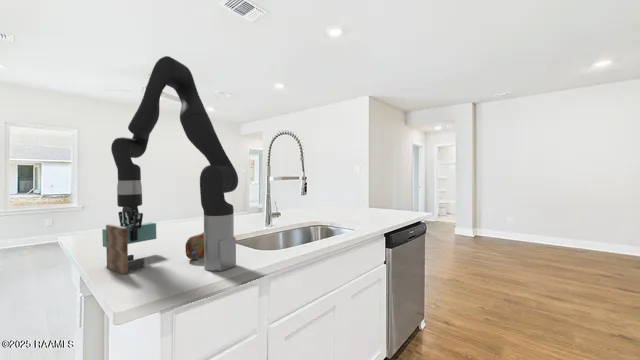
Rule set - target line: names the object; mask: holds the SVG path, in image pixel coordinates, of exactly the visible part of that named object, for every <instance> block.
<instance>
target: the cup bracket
mask: <svg viewBox="0 0 640 360" xmlns="http://www.w3.org/2000/svg"><path fill="white" fill-rule="evenodd" d="M105 229H106V247H105V249H106V268H107V269H109V270H111V271H114V272H116V273H119V274H121V275H123V276H124V275H128V274H129V272H132V271H137V270H140V269H145V258H144V257H140V258H137V259H134V258H135V257H134V256H135V255H134V254H129V250H128V247H129V244H128V242H127V228H125V227H121V226H120V225H116V224H115V225H114V224H110V223H109V224H106V225H105ZM128 254H129V255H128Z"/></svg>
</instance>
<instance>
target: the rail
mask: <svg viewBox="0 0 640 360" xmlns="http://www.w3.org/2000/svg"><path fill="white" fill-rule="evenodd" d="M120 227H125V228H127V242H128V245H130V244H135V243H142V242H147V241H150V240H156V239H157V223H156V222H151V221H150V222H142V225H141V228H140V229H138V240H137V241H130V227H129V225H128V226H120ZM101 233H102V248H103V247H104V248H106V228H102V232H101Z"/></svg>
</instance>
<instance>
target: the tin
mask: <svg viewBox="0 0 640 360" xmlns="http://www.w3.org/2000/svg"><path fill="white" fill-rule="evenodd" d="M185 256H186V257H187V258H188V259H189V260H196V261H198V260H200V259H202V258H204V232H201V233H198V234H196V235H193V236H190V237H188V239H187V241H186V242H185Z"/></svg>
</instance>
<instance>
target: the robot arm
mask: <svg viewBox="0 0 640 360" xmlns="http://www.w3.org/2000/svg"><path fill="white" fill-rule="evenodd" d="M147 81H148V82H147V85H146V87H145V89H144V90H145V91H144V93H143V96H142V99H141V102H140V104H139V106H138V108H137V110H136V112H135V113H134V115H133V117H132V118H131V120H130V122H129V124H128V126H127V129H128V131H129V132H130V133H131V134H132V137H131V138H130V137H125V136H119V137H116V138H114V140H113V141H112V142H111V148H110V149H111V150H110V151H111V155H112V157H113V161H114V163H115V166H116V169H117V185H116V195H117V196H116V198H117V199H116V200H117V201H116V202H117V207H119V208H122V209H121V211H118V214H117V215H118V219H119V224H120V225H119V226H120V227H121V226H128V225H129V227H130V241H137V240H138V229H140V228H141V225H142V224H143V217H144V213H143V212H139V207H141V206H142V205H143V188H142V187H143V186H142V179H141V178H142V175H141V174H142V173H141V166H140V165H138V164H136V163H134V162H133V158H134V159H138V158H140V157H141V156H143V155H144V154H145V153H146V151H147V148H148V143H149V139H150V134H151V133H152V132H153V130H154V128H155V127H156V125H157V123H158V121H159V116H160V100H161V96H162V93H163V90H164V89H165V88H166V87H167V86H168V87H169V88H173V90H174V91H175V93H176V94H177V96H178V98H179V101H180V103H181V107H180V111H179V122H180V125H181V127H182V129H183V131H184V134H185V136H186V138H187V139H188V140H189V142H190V143H191V144H192V145H193V146H194V147H195V149H197V150H198V151H199V152H200V153H201V154H202V155H203V157H205V158H206V160H207V161H208V163H209V165H206V166H204V167H203V169H202V170H201V172H200V176H199V195H200V204H201V208H202V210H203V233H204V257H203V258H204V259H203V260H204V261H203V262H204V263H203V264H204V270H207V271H212V272H213V271H214V272H215V271H218V272H222V271H225V270H228V269H231V268H234V267H236V266H237V246H236V245H237V238H236V237H235V231H234V230H235V229H234V228H235V227H234V226H235V225H234V222H235V221H234V220H235V219H234V216H235V215H234V210H235V209H234V205H233V204H232V203H229V202H227V200H226V199H225V194H226V193H231V192H234V191H235V190H236V189H237V187H238V185H239V176H238V172H237V170H236V168H235V167H234V165H233V164H232V161H231V160H230V158H229V156H228V155H227V153H226V151H225V149H224V147H223V146H222V143H221V142H220V139H219V137H218V135H217V132H216V130H215V128H214V125H213V123H212V121H211V118H210V117H209V114H208V112H207V111H206V108H205V106H204V104H203V102H202V99H201V97H200V95H199V91H198V89H197V85H196V83H195V80H194V76H193V74H192V72H191V70H190V69H189V67H187V66H186V64H184V63H181V62H180V61H178V60H177V59H175V58H173V57H172V56H168V55H164V56H161V57H160V58H158V60H157V61H156V62H155V64H154V65H153V68H152V71H151V74H150V77H149V80H147Z"/></svg>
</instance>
